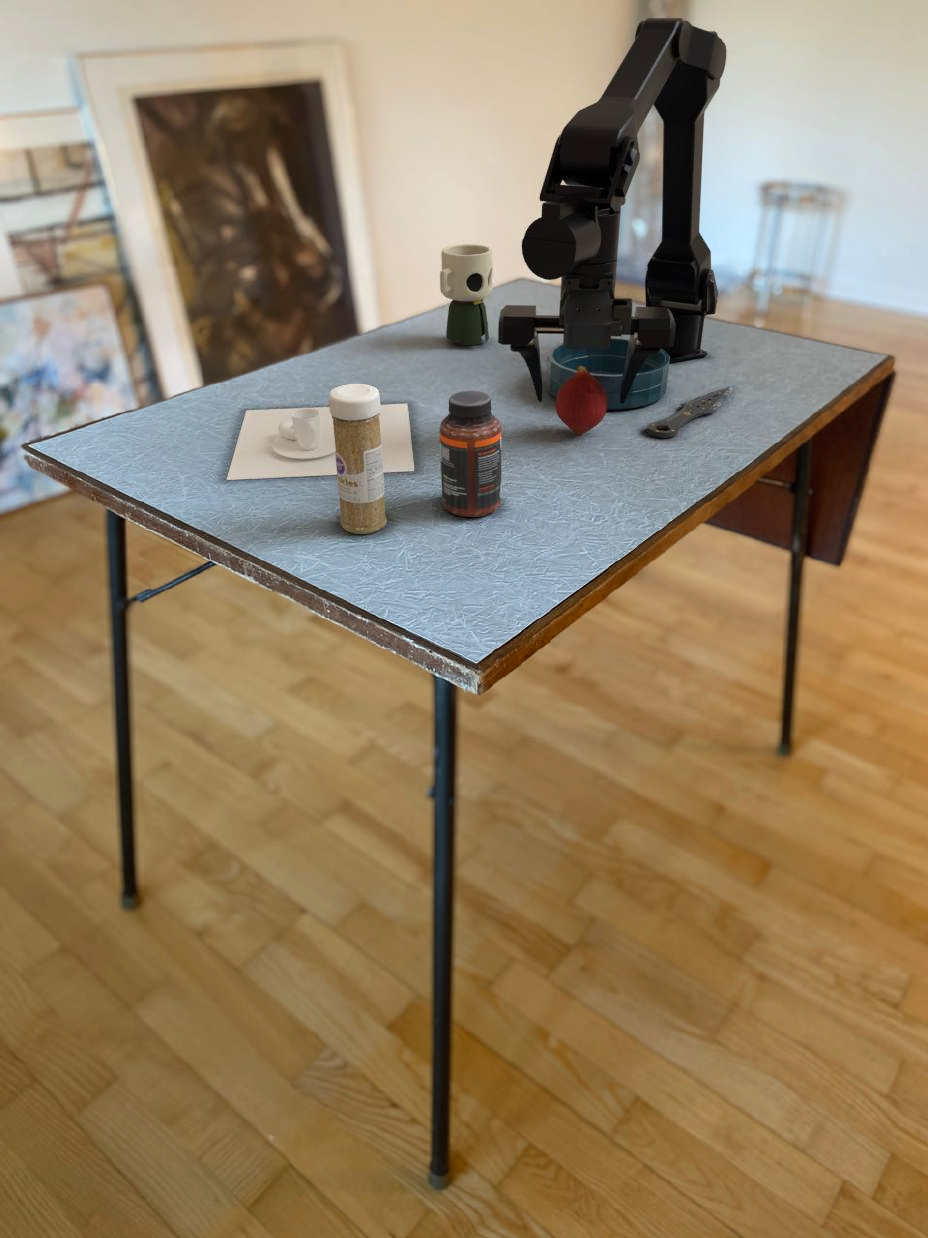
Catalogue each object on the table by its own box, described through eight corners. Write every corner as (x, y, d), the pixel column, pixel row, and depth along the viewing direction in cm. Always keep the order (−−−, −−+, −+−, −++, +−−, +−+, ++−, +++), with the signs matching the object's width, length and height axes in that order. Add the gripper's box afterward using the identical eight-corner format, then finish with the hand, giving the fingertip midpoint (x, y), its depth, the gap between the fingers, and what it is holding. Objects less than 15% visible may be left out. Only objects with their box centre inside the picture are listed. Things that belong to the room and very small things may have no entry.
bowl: (623, 363, 129) (626, 331, 126) (689, 399, 117) (694, 364, 115) (525, 380, 123) (526, 347, 121) (585, 420, 112) (587, 383, 109)
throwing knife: (638, 431, 108) (638, 426, 108) (718, 384, 121) (718, 379, 121) (671, 440, 106) (672, 435, 106) (749, 391, 119) (750, 386, 118)
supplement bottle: (510, 499, 95) (512, 391, 88) (486, 524, 90) (487, 412, 84) (457, 488, 97) (455, 382, 90) (431, 513, 92) (427, 403, 86)
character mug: (461, 356, 132) (460, 260, 125) (424, 346, 136) (421, 252, 129) (509, 337, 139) (511, 245, 132) (473, 328, 143) (472, 239, 135)
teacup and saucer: (276, 432, 110) (271, 399, 107) (344, 429, 110) (341, 396, 108) (269, 464, 102) (265, 428, 100) (342, 460, 103) (339, 425, 101)
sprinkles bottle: (331, 526, 90) (317, 392, 83) (364, 509, 93) (354, 378, 86) (364, 540, 88) (353, 403, 80) (398, 523, 91) (390, 389, 83)
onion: (604, 425, 111) (609, 358, 106) (605, 444, 106) (610, 375, 101) (554, 423, 111) (558, 357, 107) (553, 443, 106) (557, 374, 102)
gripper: (495, 276, 91) (494, 427, 100) (688, 278, 90) (670, 431, 99) (501, 250, 101) (500, 390, 109) (677, 251, 99) (661, 393, 108)
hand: (580, 401), depth 106 cm, fingers open, 9 cm apart
